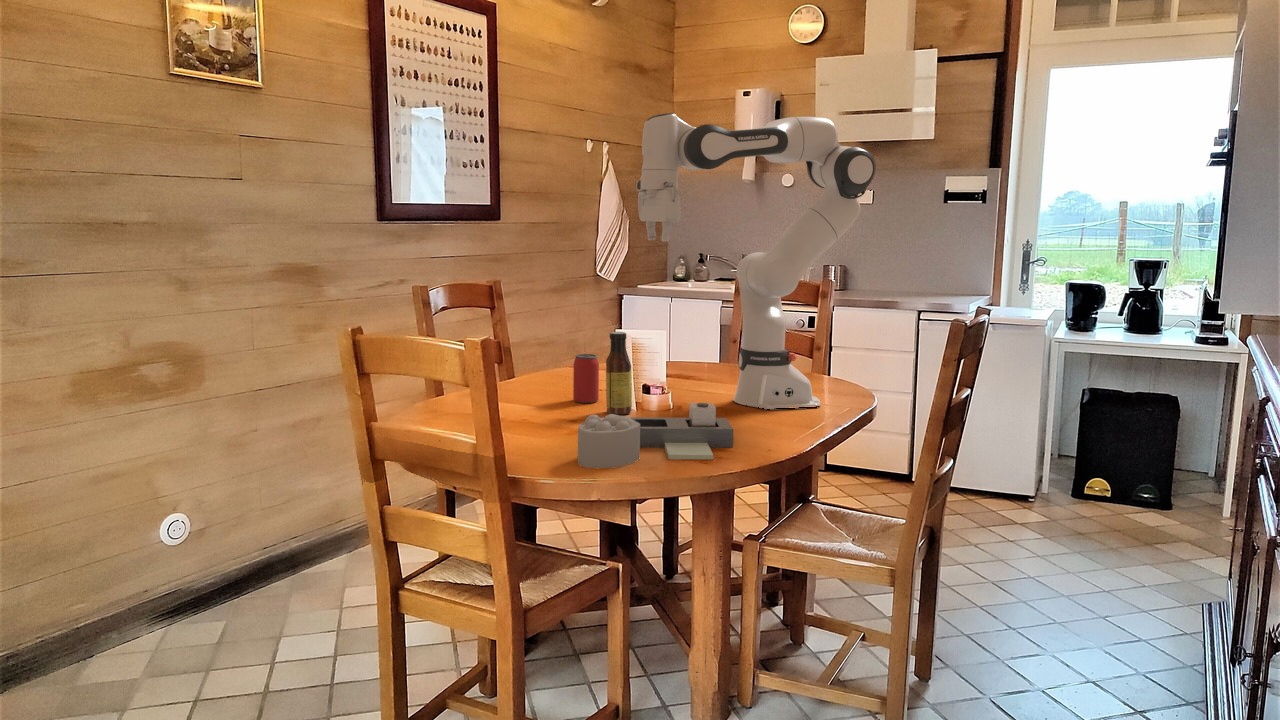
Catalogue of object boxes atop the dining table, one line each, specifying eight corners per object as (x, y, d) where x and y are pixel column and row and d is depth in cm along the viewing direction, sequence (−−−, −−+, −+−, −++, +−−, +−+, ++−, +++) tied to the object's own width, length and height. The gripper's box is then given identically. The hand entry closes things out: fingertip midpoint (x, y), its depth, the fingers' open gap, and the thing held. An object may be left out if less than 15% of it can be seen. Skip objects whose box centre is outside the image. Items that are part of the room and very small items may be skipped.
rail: (725, 435, 190) (725, 417, 190) (732, 447, 181) (733, 429, 180) (617, 435, 189) (617, 417, 188) (619, 447, 179) (619, 428, 178)
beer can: (600, 399, 225) (600, 354, 223) (596, 404, 219) (597, 358, 217) (575, 398, 226) (575, 353, 224) (571, 403, 219) (571, 357, 217)
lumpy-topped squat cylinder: (646, 458, 172) (647, 416, 170) (605, 473, 161) (606, 428, 160) (606, 449, 178) (606, 408, 176) (564, 462, 167) (564, 419, 166)
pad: (706, 447, 180) (707, 442, 180) (713, 459, 171) (713, 454, 171) (664, 447, 180) (664, 442, 179) (668, 459, 171) (668, 454, 171)
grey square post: (711, 438, 188) (712, 401, 186) (714, 444, 183) (715, 406, 181) (688, 438, 187) (689, 401, 186) (691, 444, 182) (692, 406, 181)
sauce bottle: (636, 413, 210) (638, 333, 207) (619, 417, 206) (620, 335, 202) (617, 408, 214) (619, 330, 211) (600, 412, 210) (601, 332, 207)
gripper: (688, 182, 197) (686, 242, 200) (657, 184, 216) (656, 239, 219) (662, 181, 195) (661, 242, 198) (634, 183, 214) (633, 239, 217)
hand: (658, 240), depth 208 cm, fingers open, 8 cm apart
